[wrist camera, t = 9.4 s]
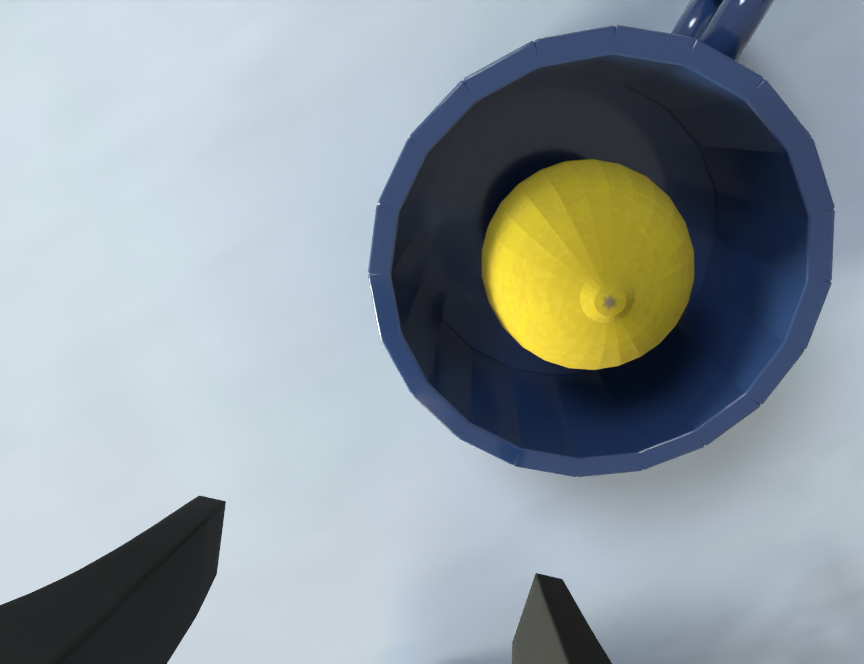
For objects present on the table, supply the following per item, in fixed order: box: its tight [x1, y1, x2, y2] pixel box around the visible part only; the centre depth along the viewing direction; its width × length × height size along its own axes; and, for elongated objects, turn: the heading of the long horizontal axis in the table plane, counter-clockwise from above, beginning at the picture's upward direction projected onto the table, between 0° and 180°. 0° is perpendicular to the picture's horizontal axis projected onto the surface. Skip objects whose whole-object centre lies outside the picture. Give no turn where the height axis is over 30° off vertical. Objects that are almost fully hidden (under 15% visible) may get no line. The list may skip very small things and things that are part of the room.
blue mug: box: [368, 0, 835, 477], centre depth 18 cm, size 14×11×6 cm
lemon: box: [482, 159, 694, 370], centre depth 17 cm, size 6×6×8 cm
